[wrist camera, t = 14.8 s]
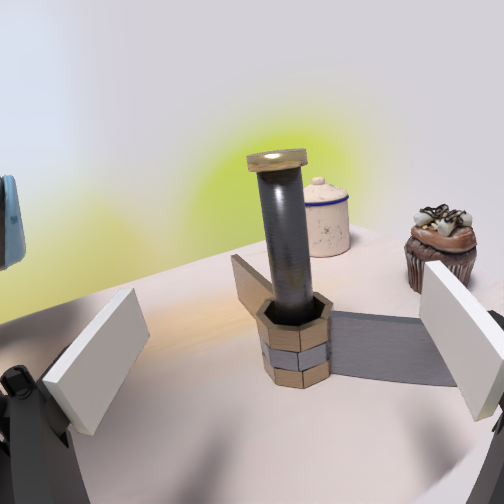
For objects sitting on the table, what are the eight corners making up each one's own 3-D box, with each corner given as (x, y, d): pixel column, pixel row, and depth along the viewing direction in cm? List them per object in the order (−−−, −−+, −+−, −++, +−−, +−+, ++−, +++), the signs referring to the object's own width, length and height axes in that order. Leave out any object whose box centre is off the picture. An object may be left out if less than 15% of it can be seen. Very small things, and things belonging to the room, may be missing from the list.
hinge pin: (270, 361, 28) (238, 156, 22) (307, 345, 29) (288, 148, 23) (290, 386, 24) (260, 156, 18) (330, 368, 26) (317, 148, 19)
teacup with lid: (322, 235, 58) (316, 172, 54) (362, 244, 51) (358, 174, 46) (272, 256, 52) (262, 185, 48) (312, 270, 45) (304, 188, 40)
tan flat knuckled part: (219, 304, 39) (210, 261, 37) (262, 291, 41) (256, 248, 39) (285, 396, 23) (277, 340, 21) (344, 368, 25) (346, 312, 23)
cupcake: (483, 281, 33) (491, 205, 29) (449, 313, 29) (460, 223, 25) (428, 261, 41) (430, 193, 37) (387, 285, 37) (388, 207, 34)
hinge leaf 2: (255, 378, 26) (245, 323, 24) (282, 340, 31) (276, 288, 28) (465, 409, 17) (487, 350, 15) (463, 360, 22) (478, 304, 20)
